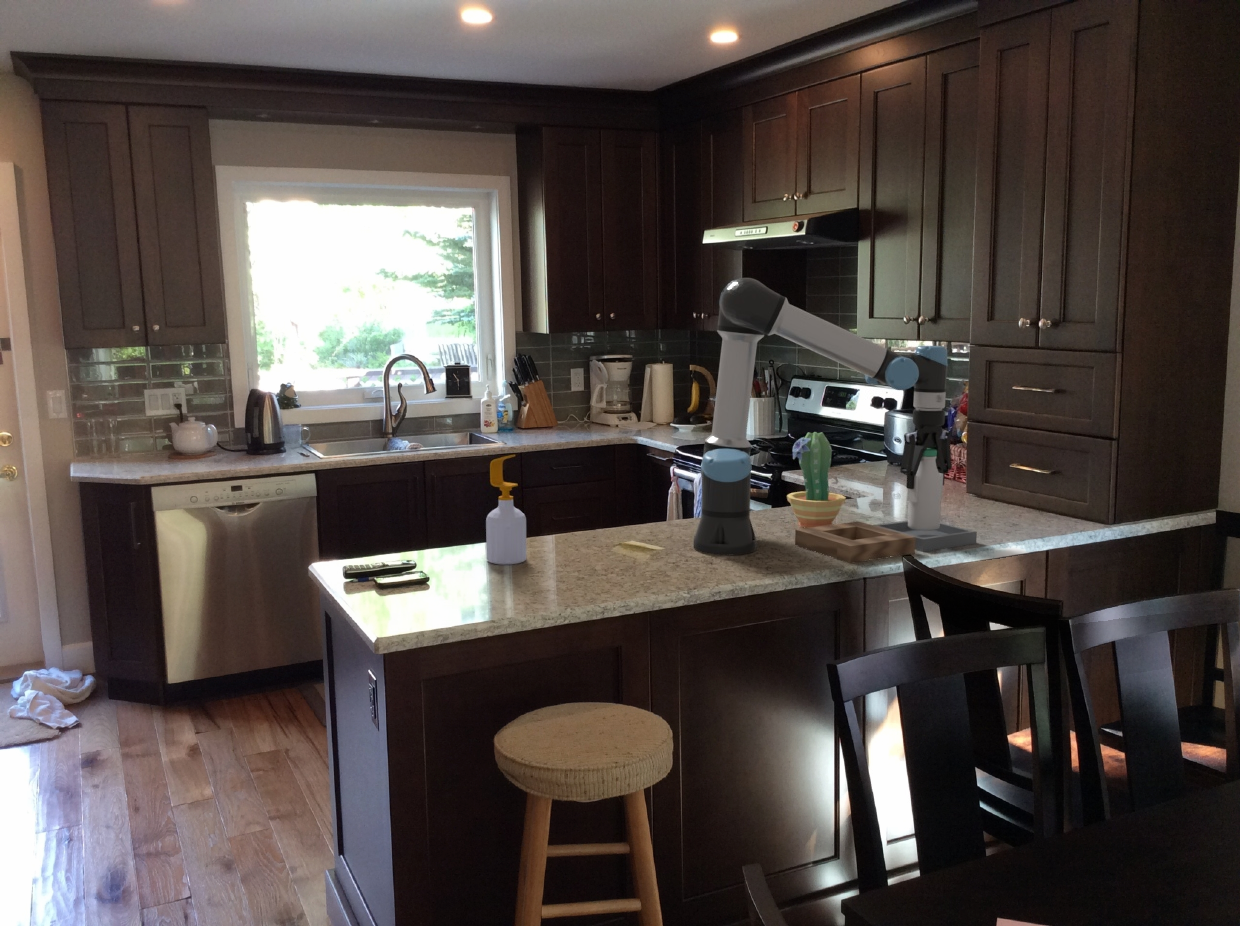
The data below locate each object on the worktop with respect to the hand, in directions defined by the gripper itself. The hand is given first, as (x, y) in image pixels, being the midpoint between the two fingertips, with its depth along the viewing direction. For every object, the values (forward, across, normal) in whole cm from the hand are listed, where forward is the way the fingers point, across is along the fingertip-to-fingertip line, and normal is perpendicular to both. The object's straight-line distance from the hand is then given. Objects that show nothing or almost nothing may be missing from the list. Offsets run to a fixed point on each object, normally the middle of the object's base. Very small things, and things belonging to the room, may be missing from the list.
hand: (924, 499), depth 263 cm
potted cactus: (+10, -13, +26) cm, 31 cm away
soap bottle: (+10, -100, +30) cm, 105 cm away
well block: (+10, -22, 0) cm, 24 cm away
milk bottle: (+7, 0, 0) cm, 7 cm away
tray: (+10, 0, 0) cm, 10 cm away
